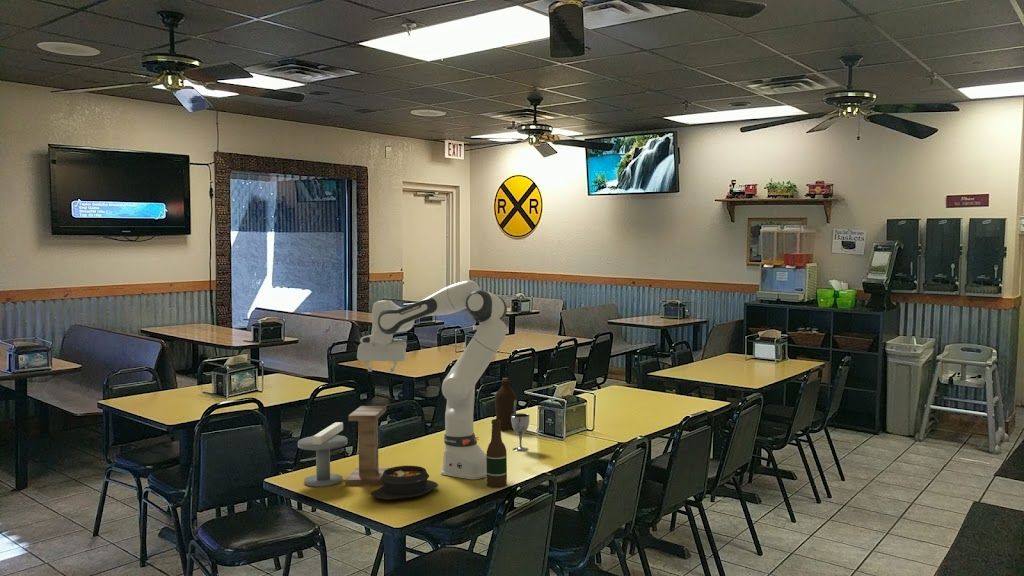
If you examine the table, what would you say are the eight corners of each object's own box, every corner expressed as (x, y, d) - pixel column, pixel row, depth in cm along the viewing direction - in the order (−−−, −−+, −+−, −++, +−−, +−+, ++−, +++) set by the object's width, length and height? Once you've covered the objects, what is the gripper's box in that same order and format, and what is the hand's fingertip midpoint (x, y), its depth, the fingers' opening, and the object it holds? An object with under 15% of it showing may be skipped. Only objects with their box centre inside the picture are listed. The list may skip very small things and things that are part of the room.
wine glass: (508, 450, 319) (508, 416, 319) (515, 446, 327) (515, 412, 326) (525, 452, 316) (525, 417, 316) (532, 448, 324) (532, 414, 323)
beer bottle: (511, 483, 272) (510, 418, 271) (501, 489, 265) (501, 422, 264) (492, 480, 275) (491, 416, 274) (482, 486, 268) (481, 421, 267)
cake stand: (357, 480, 278) (356, 439, 277) (315, 491, 264) (315, 448, 264) (330, 471, 290) (329, 432, 289) (289, 482, 277) (288, 441, 276)
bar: (335, 429, 294) (335, 422, 294) (343, 429, 294) (342, 422, 294) (312, 444, 270) (312, 436, 270) (320, 444, 270) (320, 436, 270)
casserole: (390, 509, 245) (390, 484, 245) (360, 496, 258) (359, 473, 258) (449, 492, 262) (449, 468, 262) (417, 481, 276) (417, 459, 275)
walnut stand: (356, 472, 289) (355, 406, 288) (392, 472, 288) (391, 406, 287) (344, 485, 271) (342, 415, 270) (382, 486, 270) (380, 415, 269)
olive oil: (495, 431, 356) (494, 380, 355) (495, 426, 367) (494, 376, 366) (517, 431, 356) (516, 379, 356) (516, 426, 367) (516, 376, 366)
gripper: (408, 338, 311) (407, 371, 312) (359, 337, 312) (359, 370, 312) (405, 340, 305) (404, 373, 305) (356, 338, 306) (355, 372, 306)
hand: (381, 371), depth 309 cm, fingers open, 8 cm apart
